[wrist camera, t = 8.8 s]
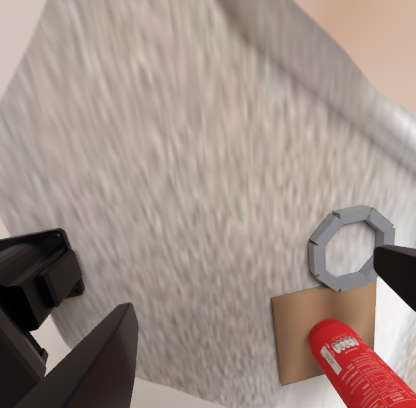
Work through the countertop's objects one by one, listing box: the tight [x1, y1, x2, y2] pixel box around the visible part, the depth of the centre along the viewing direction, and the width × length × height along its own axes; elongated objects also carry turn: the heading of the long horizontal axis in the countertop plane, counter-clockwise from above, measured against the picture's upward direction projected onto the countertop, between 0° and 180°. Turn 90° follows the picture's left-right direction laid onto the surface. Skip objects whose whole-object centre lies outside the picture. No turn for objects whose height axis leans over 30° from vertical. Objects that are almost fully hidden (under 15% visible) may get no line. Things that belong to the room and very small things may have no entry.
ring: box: [308, 205, 395, 292], centre depth 23 cm, size 9×9×1 cm
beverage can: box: [308, 318, 416, 408], centre depth 20 cm, size 5×5×12 cm
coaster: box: [271, 278, 377, 386], centre depth 26 cm, size 12×12×1 cm
